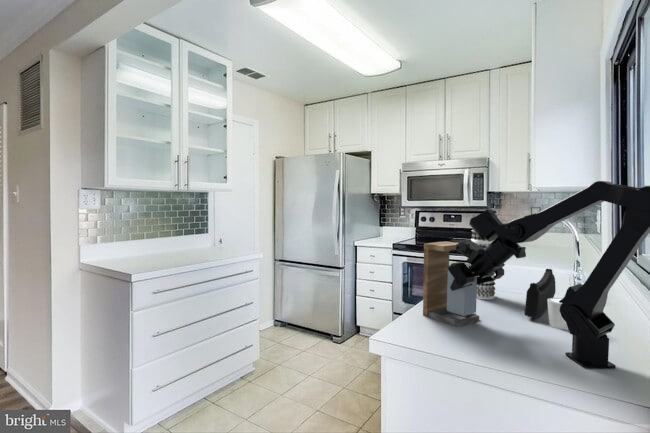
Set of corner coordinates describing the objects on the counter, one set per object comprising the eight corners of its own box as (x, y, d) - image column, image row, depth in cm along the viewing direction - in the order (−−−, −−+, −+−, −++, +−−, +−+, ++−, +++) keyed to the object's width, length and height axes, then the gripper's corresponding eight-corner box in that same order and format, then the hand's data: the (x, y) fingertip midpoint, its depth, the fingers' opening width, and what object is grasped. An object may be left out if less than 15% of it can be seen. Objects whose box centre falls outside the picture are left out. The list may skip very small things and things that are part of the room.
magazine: (536, 292, 100) (555, 250, 122) (523, 290, 102) (543, 249, 124) (538, 345, 105) (555, 295, 126) (525, 342, 107) (545, 293, 128)
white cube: (562, 331, 95) (563, 305, 95) (540, 323, 102) (541, 298, 102) (582, 329, 97) (583, 303, 97) (559, 320, 104) (560, 296, 104)
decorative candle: (496, 301, 124) (498, 227, 122) (467, 297, 128) (468, 226, 126) (496, 294, 132) (498, 226, 131) (469, 291, 136) (470, 225, 135)
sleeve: (476, 312, 103) (477, 268, 102) (464, 315, 100) (465, 270, 99) (458, 307, 107) (459, 265, 107) (446, 310, 104) (447, 267, 104)
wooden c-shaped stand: (479, 319, 104) (480, 245, 103) (457, 326, 99) (459, 248, 98) (444, 309, 114) (445, 241, 113) (422, 314, 109) (424, 243, 108)
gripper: (495, 229, 104) (460, 262, 114) (455, 232, 94) (420, 268, 103) (522, 260, 98) (483, 292, 108) (482, 268, 88) (443, 302, 97)
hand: (457, 287), depth 104 cm, fingers closed on sleeve, 6 cm apart
